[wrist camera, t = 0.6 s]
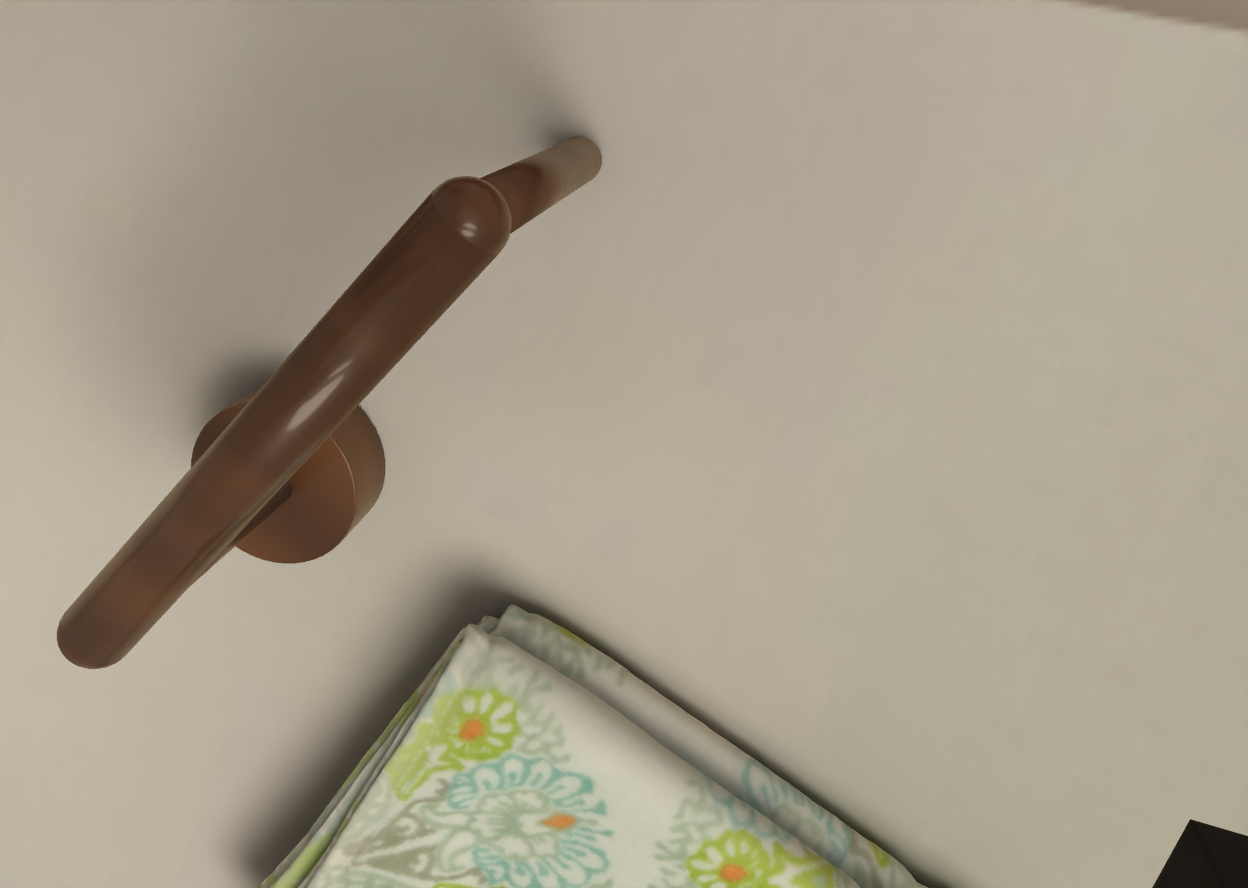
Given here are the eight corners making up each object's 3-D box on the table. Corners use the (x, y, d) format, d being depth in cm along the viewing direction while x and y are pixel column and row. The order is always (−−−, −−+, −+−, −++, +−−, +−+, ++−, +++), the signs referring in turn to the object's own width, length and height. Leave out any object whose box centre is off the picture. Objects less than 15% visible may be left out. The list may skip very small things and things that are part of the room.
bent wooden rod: (534, 65, 29) (370, 83, 18) (671, 205, 30) (591, 303, 19) (199, 451, 35) (-76, 639, 24) (320, 560, 36) (105, 791, 25)
